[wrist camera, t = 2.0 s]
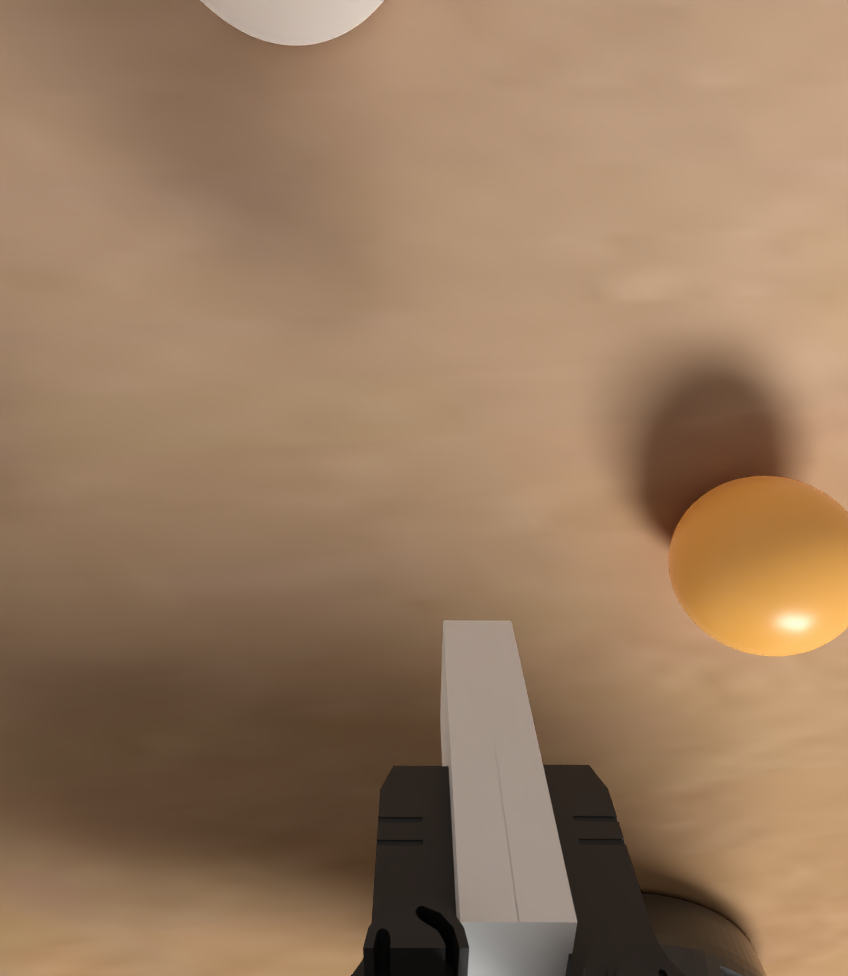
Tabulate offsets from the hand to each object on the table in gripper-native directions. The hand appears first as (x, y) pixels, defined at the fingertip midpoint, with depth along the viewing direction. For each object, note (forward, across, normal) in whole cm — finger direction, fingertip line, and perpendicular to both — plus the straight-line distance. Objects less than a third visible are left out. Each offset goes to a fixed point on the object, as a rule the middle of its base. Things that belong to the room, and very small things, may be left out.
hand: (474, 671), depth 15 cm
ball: (+6, -9, 0) cm, 11 cm away
